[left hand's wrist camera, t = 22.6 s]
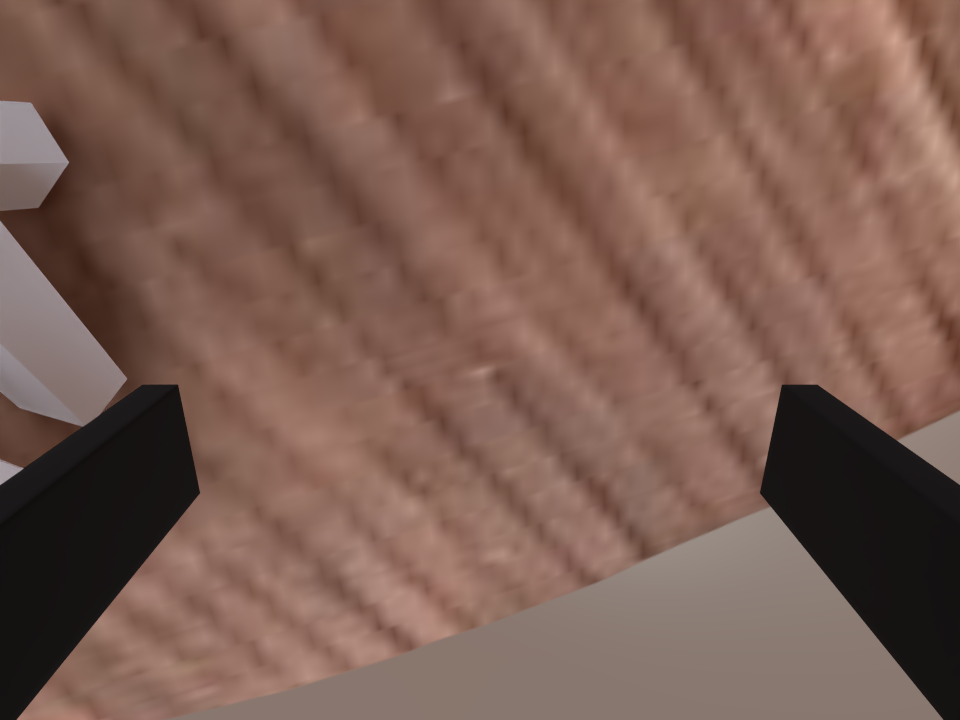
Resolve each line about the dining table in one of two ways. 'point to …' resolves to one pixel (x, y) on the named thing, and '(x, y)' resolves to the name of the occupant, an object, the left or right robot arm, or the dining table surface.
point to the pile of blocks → (41, 296)
